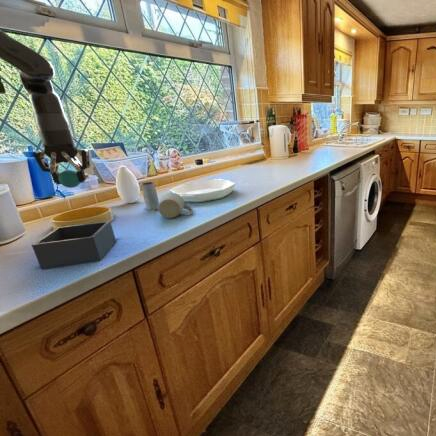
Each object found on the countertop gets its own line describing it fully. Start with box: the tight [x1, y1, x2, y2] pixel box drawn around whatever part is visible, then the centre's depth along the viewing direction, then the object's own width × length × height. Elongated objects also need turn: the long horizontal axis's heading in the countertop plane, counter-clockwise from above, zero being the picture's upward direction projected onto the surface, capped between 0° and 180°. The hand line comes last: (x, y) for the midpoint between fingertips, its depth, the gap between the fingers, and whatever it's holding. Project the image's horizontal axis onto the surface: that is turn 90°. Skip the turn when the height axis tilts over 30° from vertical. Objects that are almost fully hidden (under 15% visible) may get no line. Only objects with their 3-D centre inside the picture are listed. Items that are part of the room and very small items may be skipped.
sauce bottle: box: [115, 160, 141, 204], centre depth 124 cm, size 8×8×18 cm
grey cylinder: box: [140, 181, 160, 211], centre depth 115 cm, size 4×4×10 cm
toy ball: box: [58, 169, 81, 189], centre depth 97 cm, size 6×6×6 cm
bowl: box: [49, 205, 114, 230], centre depth 102 cm, size 16×16×4 cm
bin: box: [31, 221, 117, 270], centre depth 79 cm, size 12×12×6 cm
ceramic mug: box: [157, 192, 194, 219], centre depth 108 cm, size 11×8×8 cm
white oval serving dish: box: [168, 178, 236, 203], centre depth 133 cm, size 31×26×4 cm
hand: (71, 183), depth 97 cm, fingers closed on toy ball, 5 cm apart
